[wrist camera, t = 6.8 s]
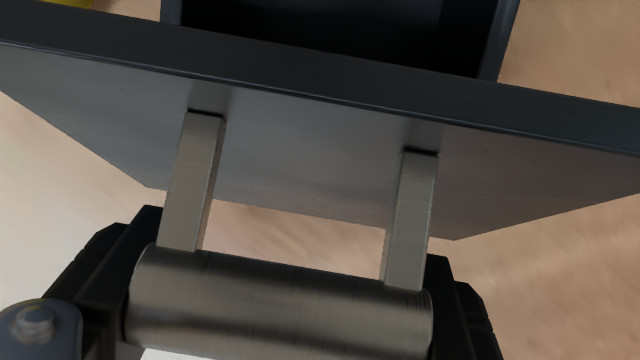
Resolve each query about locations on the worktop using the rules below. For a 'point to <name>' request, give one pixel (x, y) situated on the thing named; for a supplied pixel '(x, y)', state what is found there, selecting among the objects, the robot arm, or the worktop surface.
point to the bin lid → (303, 170)
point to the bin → (368, 28)
